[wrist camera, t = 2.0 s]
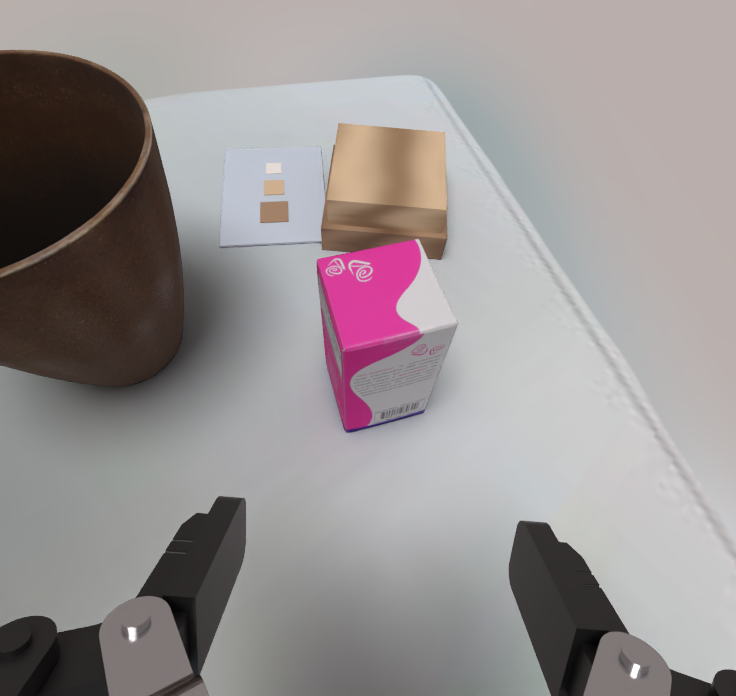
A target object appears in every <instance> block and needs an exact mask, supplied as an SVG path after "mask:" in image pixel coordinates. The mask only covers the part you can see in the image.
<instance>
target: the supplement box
mask: <svg viewBox="0 0 736 696" xmlns="http://www.w3.org/2000/svg"><path fill="white" fill-rule="evenodd" d="M317 275H318V285H319V294H320V305H321V315H322V325H323V335H324V345H325V356H326V364H327V368H328V371H329V375H330V379H331V383H332V386H333V390H334V394H335V398H336V401H337V405H338V409H339V412H340V416H341V420H342V423H343V426H344V430H345V431H346V432H353V431H357V430H361V429H365V428H369V427H373V426H377V425H380V424H384V423H388V422H391V421H395V420H399V419H402V418H406V417H409V416H413V415H416V414H421V413H424V410H425V407H426V405H427V402H428V400H429V397H430V395H431V392H432V389H433V387H434V384H435V382H436V379H437V377H438V374H439V371H440V369H441V366H442V364H443V361H444V358H445V356H446V353H447V351H448V348H449V346H450V343H451V341H452V338H453V336H454V333H455V330H456V328H457V325H458V321H457V319H456V317H455V315H454V313H453V311H452V309H451V307H450V305H449V303H448V301H447V299H446V297H445V295H444V292H443V290H442V288H441V286H440V284H439V282H438V280H437V278H436V276H435V274H434V271H433V269H432V267H431V265H430V263H429V260H428V258H427V256H426V254H425V251H424V249H423V247H422V245H421V243H420V240H419V239H415V240H410V241H405V242H400V243H395V244H390V245H385V246H381V247H376V248H371V249H366V250H361V251H356V252H351V253H346V254H341V255H336V256H331V257H326V258H321V259H317Z"/></svg>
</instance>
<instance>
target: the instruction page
mask: <svg viewBox="0 0 736 696" xmlns="http://www.w3.org/2000/svg"><path fill="white" fill-rule="evenodd" d="M324 204H325V191H324V180H323V168H322V157H321V146H310V147H276V148H242V149H226V152H225V167H224V183H223V199H222V214H221V230H220V245H219V246H220V247H240V246H260V245H280V244H300V243H320V242H322V239H321V224H322V217H323V211H324Z"/></svg>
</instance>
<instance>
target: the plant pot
mask: <svg viewBox="0 0 736 696" xmlns="http://www.w3.org/2000/svg"><path fill="white" fill-rule="evenodd" d="M183 317H184V288H183V273H182V262H181V254H180V246H179V239H178V232H177V227H176V221H175V216H174V211H173V206H172V201H171V196H170V192H169V188H168V184H167V180H166V176H165V172H164V168H163V164H162V160H161V157H160V153H159V149H158V145H157V141H156V137H155V133H154V130H153V126H152V122H151V119H150V115H149V112H148V109H147V107H146V105H145V103H144V101H143V99H142V98H141V96H140V95H139V94H138V93H137V91H136V90H135V89H134V88H133V87H132V86H131V85H130V84H129V83H128V82H127V81H125V80H124V79H123V78H121V77H120V76H118V75H117V74H116V73H114V72H112V71H110V70H108V69H107V68H105V67H103V66H101V65H99V64H96V63H93V62H91V61H88V60H85V59H82V58H79V57H75V56H70V55H65V54H61V53H54V52H46V51H34V50H1V51H0V365H2V366H5V367H9V368H13V369H16V370H20V371H24V372H28V373H32V374H36V375H40V376H45V377H50V378H55V379H60V380H65V381H70V382H77V383H84V384H92V385H100V386H111V387H119V386H128V385H133V384H136V383H139V382H142V381H144V380H147V379H149V378H151V377H152V376H154V375H156V374H157V373H158V372H159V371H161V370H162V369H163V368H164V367H165V366H166V365H168V363H169V362H170V361H171V360H172V358H173V357H174V356H175V354H176V352H177V351H178V348H179V346H180V342H181V339H182V330H183Z"/></svg>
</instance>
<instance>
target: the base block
mask: <svg viewBox="0 0 736 696" xmlns="http://www.w3.org/2000/svg"><path fill="white" fill-rule="evenodd" d="M446 212H447V188H446V151H445V132H434V131H422V130H411V129H399V128H388V127H376V126H365V125H353V124H342V123H339V124H338V130H337V137H336V143H335V145H334V147H333V153H332V160H331V166H330V173H329V179H328V185H327V192H326V198H325V204H324V211H323V217H322V224H321V239H322V250H334V251H346V252H356V251H361V250H366V249H371V248H376V247H381V246H385V245H390V244H395V243H400V242H405V241H410V240H415V239H419V240H420V243H421V245H422V247H423V249H424V251H425V254H426V256H427V258H430V259H441V257H442V254H443V251H444V247H445V244H446V241H447V218H446Z"/></svg>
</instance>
